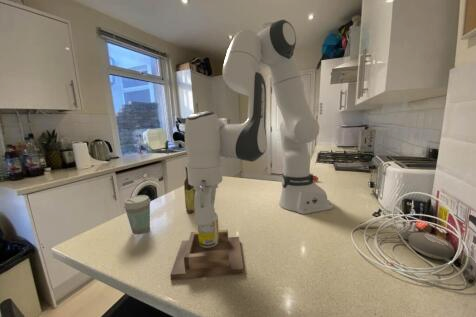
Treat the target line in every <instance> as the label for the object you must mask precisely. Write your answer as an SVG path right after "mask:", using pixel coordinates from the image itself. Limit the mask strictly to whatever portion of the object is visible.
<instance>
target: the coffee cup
mask: <svg viewBox="0 0 476 317" xmlns="http://www.w3.org/2000/svg"><path fill="white" fill-rule="evenodd" d="M123 208H124V209H125V212H126V216H127V219H128V223H129V227H130V230H131V232H132V234H133V235H141V234H145V233H146V232H149V231H150V229H151V228H150V227H151V199H150V197H149V196H148V195H146V194H139V195H135V196H130V197H129V198H126V199H125V201H124V204H123Z"/></svg>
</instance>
